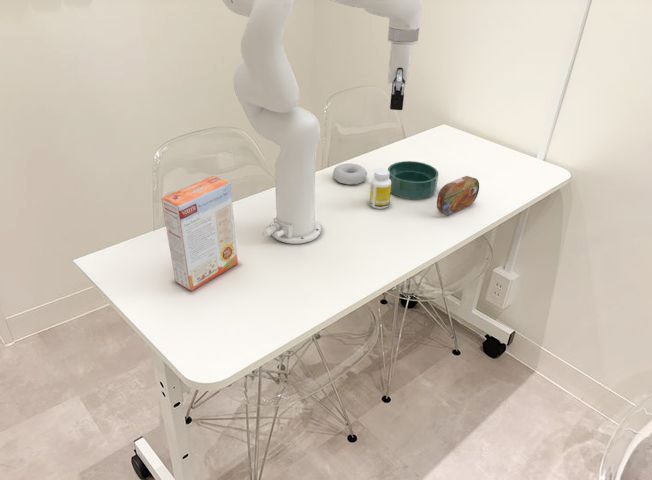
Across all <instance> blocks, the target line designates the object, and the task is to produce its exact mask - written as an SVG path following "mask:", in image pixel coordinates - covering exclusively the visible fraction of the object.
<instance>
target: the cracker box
mask: <svg viewBox="0 0 652 480" xmlns="http://www.w3.org/2000/svg"><path fill="white" fill-rule="evenodd" d="M161 206H162V212H163V217H164V223H165V229H166V235H167V240H168V247H169V253H170V257H171V259H170V260H171V264H172V265H171V266H172V270H173V276H174V281H175V283H177V284H178V285H181V287H183V288H185V289H187V290H189V291H190V292H193V291H194V290H197V289H198V288H199V287H201V286H203V285H204V284H206V283H208V282H210V281H211V280H213V279H215V278H216V277H218V276H220V275H221V274H223V273H225V272H226V271H228V270H230V269H231V268H233V267H236V266H237V265H238V254H237V253H238V251H237V240H236V231H235V219H234V217H235V216H234V208H233V196H232V185H231V182H230V181H227V180H224V179H222V178H219V177H217V176H215V175H212V176H209V177H207V178H204V179H202V180H200V181H198V182H196V183H193V184H191V185H189V186H186V187H184V188H182V189H179V190H177V191H175V192H172V193H170V194H168V195H166V196H163V197H162V198H161Z"/></svg>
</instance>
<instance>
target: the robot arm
mask: <svg viewBox="0 0 652 480" xmlns="http://www.w3.org/2000/svg"><path fill="white" fill-rule="evenodd" d="M294 1H295V0H222V2H223V4H224V6H226V8H227V9H228V10H229V11H230V12H233V13H235V14H236V15H239V16H243V17H247V21H246V24H245V26H244V30H243V32H242V37H241V40H240V41H241V42H240V53H241V57H242V59H243V60H242V61H241V62H240V63H239V64H238V65H237V67H236V68H235V70H234V74H233V79H232V80H233V90H234V93H235V96H236V98H237V100H238V102H239V103H240V106H241V108H242V110H243V112H244V114H245V116H246V118H247V120H248V122H249V123H250V126H251V127H252V129H253V130H254V131H255V133H256V134H257V135H259V136H260V137H262V138H263V139H265V140H267V141H270V142H272V143H274V144H276V145H277V146H279V147H280V151H279V153H278V155H277V157H276V159H275V164H274V182H275V183H274V184H275V186H274V187H275V216H276V217H274V218H273V219H272V223H271V224H270V226H269V227H266V228H265V229H263V230H262V236H264V237H265V238H269V237H271V236H272V237H273V238H274V239H275V240H276V241H279V242H282V243H284V244H285V243H286V244H292V245H294V244H295V245H300V244H305V243H309V242H312V241H313V240H316V239H317V238H318V237H319V236H320V234H321V231H322V230H321V229H322V228H321V225H320V222H318V221H317V220H316V219H315V218H316V216H315V215H316V211H315V210H316V160H317V151H318V146H319V142H320V137H321V125H320V122H319V119H318V118H317V117H316V116H315V115H314V114H313V113H312V112H310V111H309V110H307V109H305V108H303V107H301V106H298V103H299V101H300V89H299V84H298V81H297V79H296V76H295V73H294V71H293V68H292V66H291V63H290V61H289V58H288V56H287V54H286V50H285V48H284V47H285V46H284V43H283V37H284V33H285V29H286V26H287V23H288V21H289V18H290V16H291V14H292V11H293V8H294V3H295V2H294ZM331 1H332V2H334V3H337V4H340V5H344V6H347V7H350V8H351V7H352V8H356V9H357V8H358V9H363V10H364V11H365V12H367V13H368V14H370V15H373V16H377V17H383V18H388V28H387V29H388V31H387V32H388V33H387V42H389V43H391V44H390V50H389V60H388V72H387V73H388V74H387V84H388V85H391V94H390V104H389V110H390V111H391V110H392V111H403V109H404V99H405V86H406V85H407V84H408V80H409V74H410V70H411V63H412V55H413V47H414V45H415V44H418V43H419V36H420V29H421V28H420V27H421V18H422V9H423V0H331Z"/></svg>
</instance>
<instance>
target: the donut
mask: <svg viewBox="0 0 652 480" xmlns="http://www.w3.org/2000/svg"><path fill="white" fill-rule="evenodd" d="M367 175H368V173H367V170H366V168H365V167H364V166H362V165H360V164H358V163H351V162H350V163H349V162H348V163H347V162H346V163H341V164H338V165H336V167H335V168H334V169H333V172H332V176H333V178H334V179H335V181H336V182H338V183H340V184H343V185H358V184H360V183H362V182H364V181H366V179H367Z"/></svg>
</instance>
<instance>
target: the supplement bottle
mask: <svg viewBox="0 0 652 480" xmlns="http://www.w3.org/2000/svg"><path fill="white" fill-rule="evenodd" d="M373 173H374V174H373V177H372V178H371V180H370V192H369V206H370V207H372V208H373V209H379V210H383V209H386V208H388V207H389V206H390V203H391V192H390V191H391V180H390V179H389V173H390V172H389V171H388V169H386V168H377V169H375V170H374V172H373Z"/></svg>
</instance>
